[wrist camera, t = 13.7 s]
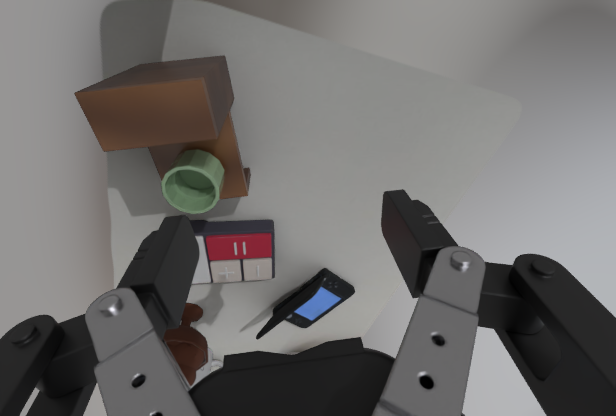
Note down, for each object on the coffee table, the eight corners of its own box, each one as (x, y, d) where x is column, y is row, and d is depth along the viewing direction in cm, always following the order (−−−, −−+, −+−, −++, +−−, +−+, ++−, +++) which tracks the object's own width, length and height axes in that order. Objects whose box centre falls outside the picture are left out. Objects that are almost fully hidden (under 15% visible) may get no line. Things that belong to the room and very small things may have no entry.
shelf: (139, 64, 35) (73, 92, 23) (225, 55, 35) (201, 79, 24) (183, 182, 44) (150, 245, 32) (250, 174, 44) (242, 234, 33)
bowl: (166, 150, 35) (152, 170, 31) (219, 144, 35) (211, 163, 31) (182, 194, 38) (171, 216, 34) (230, 188, 38) (225, 210, 34)
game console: (304, 324, 66) (308, 364, 59) (255, 299, 60) (252, 341, 53) (356, 286, 61) (368, 326, 53) (309, 255, 55) (314, 294, 47)
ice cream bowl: (215, 293, 58) (199, 372, 46) (217, 328, 64) (203, 405, 52) (157, 293, 56) (124, 373, 44) (164, 328, 62) (137, 408, 50)
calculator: (274, 282, 52) (185, 288, 50) (273, 264, 56) (189, 269, 54) (274, 233, 46) (172, 237, 44) (273, 217, 50) (178, 220, 47)
